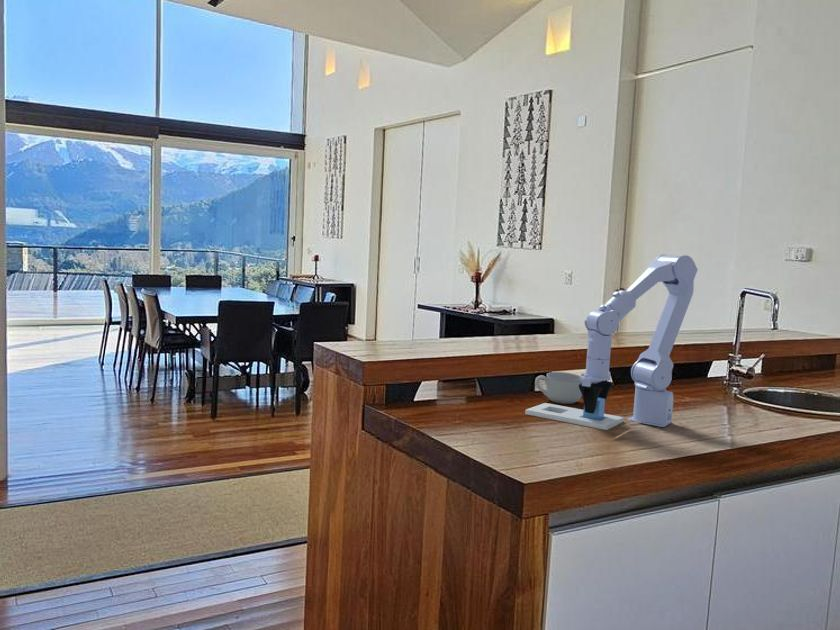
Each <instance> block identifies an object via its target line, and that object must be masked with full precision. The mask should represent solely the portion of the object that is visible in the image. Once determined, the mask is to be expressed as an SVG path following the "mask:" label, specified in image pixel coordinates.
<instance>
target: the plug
mask: <svg viewBox="0 0 840 630" xmlns="http://www.w3.org/2000/svg"><path fill="white" fill-rule="evenodd" d="M605 407H606V402H605V399H604V398H598V399H597V404H596V409H595V412H594V413H593V414H592V413H586V412H585V408H584V407H583V410H584V411H583V418H588V419H593V420H598V421H601V420H603V419H604V414H605Z"/></svg>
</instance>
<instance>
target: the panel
mask: <svg viewBox="0 0 840 630" xmlns="http://www.w3.org/2000/svg"><path fill="white" fill-rule="evenodd" d="M583 411H584V409H581V408H576V407H570V406H565V405H564V406H563V405H559V404H555V403H554V404H553V403H547V402H543V403H541V404H538V405H535V406H533V407H529V408H526V409H525V411H524V412H525V413H524V414H525V415H527V416H531V417H536V418H537V417H538V418H541V419H546V420H552V421H559V422H563V423H567V424H573V425H576V426H577V425H578V426H583V427H588V428H593V429H598V430H603V431H608V430H610V429H613V428H614V427H616V426H618V425H620V424H622V423H624V419H625V417H624V416H619V415H615V414H608V413H604V419H603V420H601V421H598V420H593V419H588V418H583Z"/></svg>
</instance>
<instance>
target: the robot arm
mask: <svg viewBox="0 0 840 630" xmlns="http://www.w3.org/2000/svg"><path fill="white" fill-rule="evenodd" d="M697 273H698V267H697V265H696V263H695V260H694V259H693V258H692V257H691V256H689V255H685V254H683V255H674V254H673V255H672V254H670V255H669V254H660V255H657V257H656V258H655V259H653V260H652V261H651V262H650V263H649V266H648V268H646V269H645V271H643V273H642V274H640V276H638V278H637V279H636V280H635V281H634V282H633V283H632V284H631V285H630V286H629V287H628V288H627V289H626V290H618V291H614V292H613V293H612V297H610V298H609V299H608V300H607V301H606V302H605V303H604V304H601V305H599V309H597V310H593V311H591V312H590V313H588V315H587V317H586V319H585V320H584V326H585V328H586V330H587V350H586V365H585V372H581V373H580V376H582V377H584V378H582V383H581V384H579V389H580V391H581V394H582V396H581V398H582V400H583V409H584V408H585V412H586V413H592V414H593V413H594V412H595V409H596V404H597V399H598V398H604V399H605V403H606V401H607V399H608V395H609V393H610V391H611V390H612V388H613V387H614V382H613V381H610V380H611V375H612V374H611V371H610V363H611V362H610V361H611V349H612V338H613V333H615V332H617V330H618V327H619V323H620V322H621V321H622V320H623V319H624V318H625V317H626V316H627V315H628V314H629V313H630V312H632V311H633V310H634V309H635V308H636V305H637V302H636V301H637V300H638V299H639V298H640V297H642V296H643V295H644V294H646V292H648V291H649V290H651V289H652V288H653V287H654V286H655V285H657V284H658V283H662V284H663V285H664V287H666V289H667V291H668V296H667V299H666V301H665V304H664V307H663V310H662V312H661V315H660V317H659V320H658V323H657V326H656V327H655V331H654V333H653V336H652V338H651V341H650V343H649V347H648V348H647V349H646V350H644V351H643V352H641V353H640V354H639V355H638V359H637V360H636V361H635V362H634V363H633V365H632V366H631V368H630V376H631V379H632V380H633V381H634V386H635V388H634V389H635V391H634V402H633V413H632V416H631V417H629V418H627V421H631V422H637V423H640V424H645V425H649V426H653V427H654V426H655V427H660V428H665V427H667V426H668V425H670V424H672V423H673V420H672V419H673V411H674V410H673V409H674V393H673V392H672V391H669V390H667V387H669V385H670V384H671V383H672V378H673V374H672V373H673V369H674V363H673V361H672V359H671V357H670V355H671V352H672V350H673V348H674V344H675V342H676V339H677V337H678V334H679V332H680V329H681V326H682V325H683V322H684V319H685V315H686V313H687V311H688V307H689V305H690V303H691V300H692V297H693V296H694V295H693V294H694V286H695V285H694V283H695V278H696V275H697Z"/></svg>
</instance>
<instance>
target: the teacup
mask: <svg viewBox="0 0 840 630" xmlns="http://www.w3.org/2000/svg"><path fill="white" fill-rule="evenodd" d="M582 378H584V376H581V375H579V374H576V373H572V372H564V371H551V372H548V373H546V376H545V375H542V374H541V375H538V376H536V378H535V381H534V385H535V386H536V388H537V389H538V390H539V391H540V392H542V393H543V395H544V396H546V397H547V398H548V399H549V400H550V401H551V402H554V403H558V404H561V405H562V404H563V405H570V404H572V405H573V404H576V403H577V402H579V401H580V400H581V399H582V394H581V391H580V389H579V384H581V383H582ZM541 380H544V382H545V388H543V387H542V386H540V383H539V382H540V381H541Z"/></svg>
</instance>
